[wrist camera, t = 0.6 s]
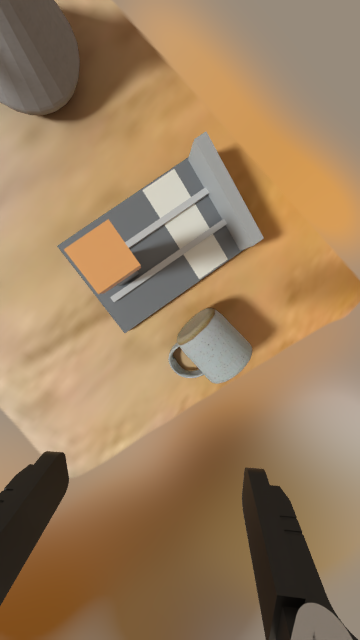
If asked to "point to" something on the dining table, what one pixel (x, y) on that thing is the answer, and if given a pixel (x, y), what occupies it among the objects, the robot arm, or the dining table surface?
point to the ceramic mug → (211, 347)
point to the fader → (103, 258)
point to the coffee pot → (36, 56)
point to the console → (175, 233)
